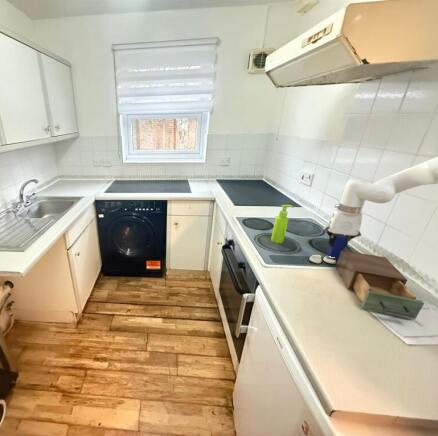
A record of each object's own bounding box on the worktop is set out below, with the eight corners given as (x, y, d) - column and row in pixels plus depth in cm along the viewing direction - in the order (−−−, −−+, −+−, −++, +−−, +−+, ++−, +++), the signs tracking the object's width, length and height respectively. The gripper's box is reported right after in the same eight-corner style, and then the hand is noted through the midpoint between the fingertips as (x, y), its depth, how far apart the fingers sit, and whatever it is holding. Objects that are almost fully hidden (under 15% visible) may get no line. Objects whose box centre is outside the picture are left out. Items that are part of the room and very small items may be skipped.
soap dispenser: (287, 243, 123) (296, 207, 115) (274, 243, 123) (282, 207, 115) (281, 238, 128) (289, 203, 121) (268, 238, 128) (276, 203, 121)
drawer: (423, 330, 71) (433, 312, 69) (367, 317, 76) (375, 300, 73) (391, 291, 87) (399, 276, 85) (347, 282, 92) (353, 268, 89)
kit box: (336, 254, 112) (343, 233, 107) (339, 260, 107) (347, 238, 103) (326, 253, 113) (333, 232, 109) (329, 258, 109) (336, 236, 104)
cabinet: (397, 299, 85) (407, 279, 81) (347, 289, 90) (355, 270, 86) (377, 275, 98) (385, 257, 95) (335, 267, 103) (341, 250, 100)
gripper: (328, 208, 101) (316, 246, 108) (378, 214, 95) (362, 253, 102) (323, 203, 107) (313, 239, 114) (370, 208, 101) (355, 245, 108)
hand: (336, 245), depth 108 cm, fingers closed on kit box, 4 cm apart
